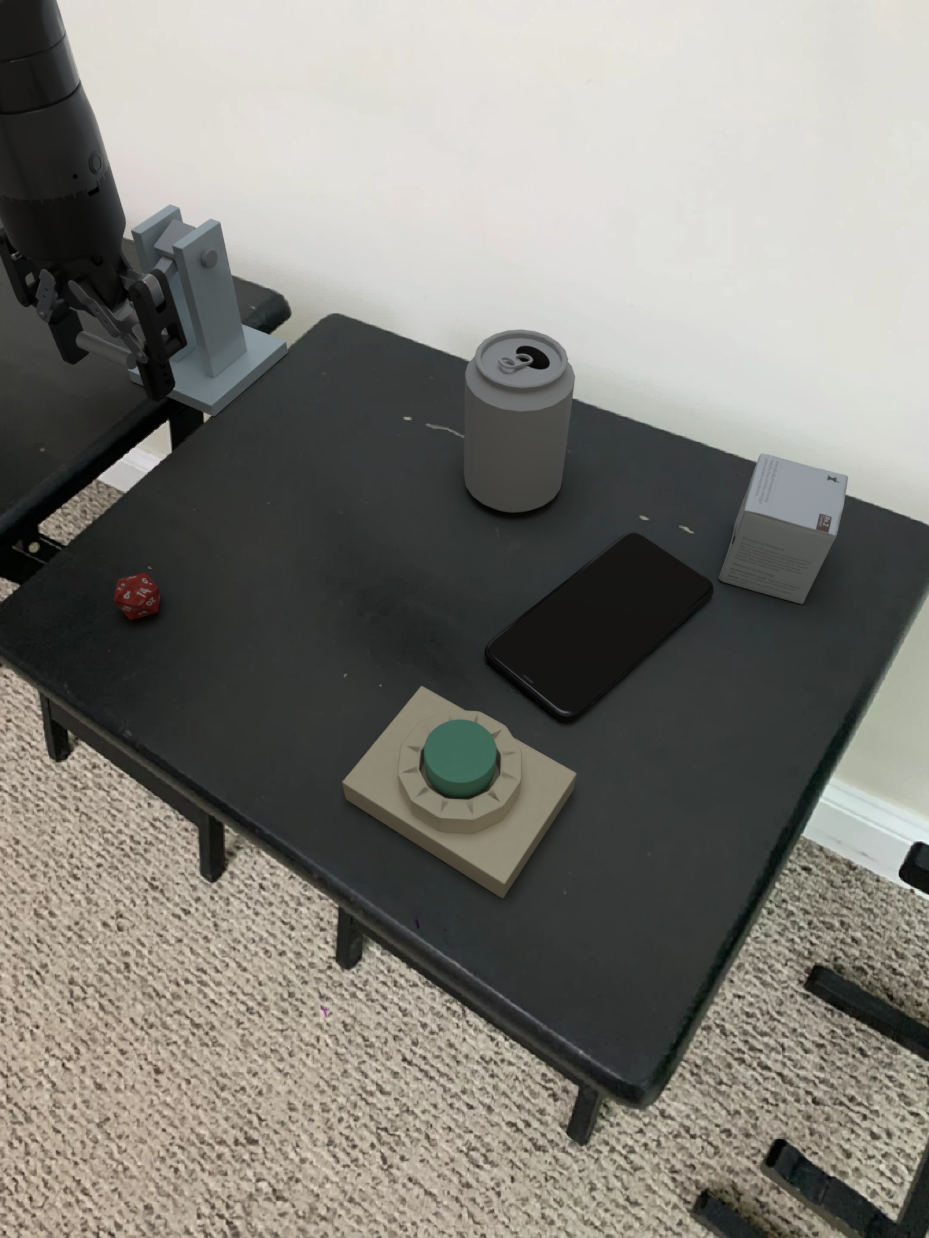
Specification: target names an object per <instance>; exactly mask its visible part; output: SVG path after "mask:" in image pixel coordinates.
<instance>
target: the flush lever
mask: <svg viewBox="0 0 929 1238" xmlns="http://www.w3.org/2000/svg"><path fill="white" fill-rule="evenodd" d="M196 228H197V227H196V226H193V225H191V224H188V223H185V222H184V221H183V222H180V221H177V220H174V219H173V220H172V222H171V223H170V224H169V226H168V227H167V228H166V230H165V231H164V232H163V234H162V235H161V237H160V238H159V239H158V241H157V242H156V243H155V245H154V246H153V247H154V249H155V250H156V252H157V253H158V255H159V256H160V258H161V259H160V260H159V262H158V263H157V265H156V266H155V267H154V269H156V268H157V269H160V270H161V271H162V272H163V273H164V274H165V275H166V277H167V280H168V283H169V282H170V281H171V279H172V278H173V276H174V275H175V274H176V272H179V271H178V267H177V264H176V260H175V256H174V252H173V248H172V245H173V244H174V243H176V242H177V241H179V240H180V239H182V238H183V237H184V236H186V235H187V234H189V233H190V232H192V231H193V230H195V229H196ZM154 269H153V270H154ZM132 312H133V308H132V307H131V306H130V305H129V302H128V303H127V304H126V306H125V307H124V308H123V310H122V311H121V313H120V314H119V315H118V317H116V318H117V319H120V320H123V319H124V318H126V317H127V316H128V315H130V314H131V313H132ZM139 325H140V324H136V325H135V326H134V327H133V331H134V332H135V331H136V329H137V328H138V327H139ZM76 344H77V346H78V347H79V348H81V349H83V350H86V351H88V352H89V354H93V355H95V356H97V357H99V358H102V359H104V360H107V361H109V362H112V363H114V364H115V365H118V366H120V367H123V368H126V369H127V370H128V369H130V370H132V369H135V368H136V367H137V364H136V361H135V360H136V359H137V358H136V357H135V356H134V354H133V353H132V352H131V351H130V349H129V348H128V347H124V346H126V344H125V343H124V342H123V340H122V339H120V338H114V337H112V336H111V335H110V334H109V333H108V331H107V332H106V333H105V335H104V337H100V336H98V335H97V334H96V335H95V334H93V333H91V332H89V331H86V330H84V331H82V332H80V333H79V334H78V335H77V337H76Z"/></svg>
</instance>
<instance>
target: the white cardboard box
mask: <svg viewBox="0 0 929 1238" xmlns="http://www.w3.org/2000/svg"><path fill="white" fill-rule="evenodd" d="M756 461H757V462H756V463H755V466H754V470H753V472H752V475H751V478H750V481H749V483H748V486H747V489H746V492H745V495H744V496H743V500H742V503H741V505H740V508H739V510H738V513H737V516H736V519H735V522H734V526H733V530H732V536H731V541H730V543H729V546H728V549H727V551H726V552H727V553H726V556H725V559H724V562H723V565H722V568H721V571H720V573H719V576H718V580H719V581H720V582H722V583H724V584H728V585H732V586H735V587H739V588H742V589H745V590H750V591H752V592H757V593H760V594H763V595H767V596H771V597H774V598H778V599H781V600H784V601H788V602H792V603H795V604H799V605H803V604H804V603H805V601H806V599H807V596H808V595H809V592H810V590H811V588H812V586H813V584H814V583H815V580H816V578H817V576H818V574H819V572H820V570H821V568H822V566H823V564H824V562H825V559H826V558H827V556H828V554H829V552H830V550H831V548H832V546H833V544H834V541H835V540H836V538H837V535H838V532H839V527H840V522H841V519H842V513H843V510H844V507H845V499H846V494H847V487H848V481H849V477H848V475H847V474H843V473H840V472H839V473H838V472H834V471H831V470H826V469H823V468H820V467H819V468H818V467H815V466H812V465H808V464H803V463H800V462H796V461H793V460H789V459H786V458H782V457H779V456H775V455H772V454H771V455H770V454H767V453H759V456H758V458H757V460H756Z"/></svg>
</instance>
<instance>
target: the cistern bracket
mask: <svg viewBox="0 0 929 1238" xmlns="http://www.w3.org/2000/svg"><path fill="white" fill-rule="evenodd" d="M173 219H174V220H177V221H180V222H183V223H184V220H183V217H182V212H181V208H180V207H179V206H177V205H173V204H171V203H170V204H168V205H166V206H165V207H164V208H162V209H160V210H159V211H158V212H156V213H155V214H152V215H151V216H150V217H148V218H147V219H145V220H144V221H142V222H141V223H139V224H138V225H136V226H135V227H133V228H132V229H130V233H131V236H132V239H133V243H134V246H135V250H136V254H137V257H138V260H139V264H140V267H141V271H142V273H143V274H148V273H150V272H151V271H152V270H153V269H154V267H155V266H156V265H157V263H158V262H159V260H160V259H161V258H160V256H159V255H158V253H157V252H156V250H155V249H154V247H153V246H154V245H155V243H156V242H157V241H158V239H159V238H160V237H161V235H162V234H163V232H164V231H165V230H166V228H167V227H168V226H169V224H170V223H171V222H172V220H173ZM225 242H226V241H225V238H224V233H223V229H222V222H221V221H219V220H216V219H214V218H209V219H208V220H206V221H205V222H203V223H202V224H200V225H199V226H197V227H196V229H195V230H193V231H192V232H190V233H189V234H187V235H186V236H184V237H183V238H182V239H180V240H179V241H177V242H176V243H174V244H173V245H172V248H173V252H174V256H175V260H176V264H177V267H178V271H179V272H176V274H175V275H174V276H173V278H172V279H171V281H170V282H169V286H170V289H171V292H172V296H173V299H174V302H175V305H176V308H177V311H178V314H179V318H180V321H181V324H182V327H183V330H184V333H185V337H186V340H187V346H186V347H184V348H183V349H182V350H180V351H179V352H177V353H176V354H175V355H173V356H172V357H171V358H170V359H169V362H170V365H171V369H172V372H173V376H174V379H175V382H176V383H175V388H173V390H172V392H170V393H169V394H168V395H167V396H166V397H167V398H170V399H172V400H174V401H177V402H179V403H181V404H182V405H183V404H184V405H186V406H188V407H190V408H193V409H195V410H197V411H199V412H201V413H204V414H207V415H209V416H211V417H216V416H217V415H218V414H219V413H220V412H221V411H223V410H224V409H226V407H227V406H228V405H230V404H231V403H232V402H234V401H235V399H236V398H238V397H239V396H240V395H241V394H242V393H243V392H245V391H246V390H247V389H248V388H249V387H250V386H251V385H253V384H254V383H255V382H257V380H258V379H260V378H261V377H262V376H263V375H264V374H265V373H267V372H268V371H269V370H270V369H271V368H272V367H274V365H276V364H277V363H278V362H279V361H280V360H281V359H283V358H284V357H285V356H286V355H287V354H288V353H289V349H288V345H287V341H286V340H285V339H281V338H279V337H276V336H273V335H271V334H269V333H266V332H263V331H261V330H258V329H256V328H253V327H251V326H248V325H246V324H243V322H242V318H241V312H240V310H239V304H238V299H237V296H236V290H235V285H234V280H233V275H232V272H231V266H230V262H229V257H228V251H227V247H226V243H225ZM163 331H164V333H165V334H166V335H168V333H167V330H166V328H164V329H163ZM127 372H128V375H129V379H130V382H132V383H135V384H137V385H139V386H142V387H144V386H143V383H142V380H141V377H140V374H139V370H138V367H136V368H135V369H132V370H130V369H128V368H127Z"/></svg>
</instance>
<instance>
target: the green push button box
mask: <svg viewBox="0 0 929 1238" xmlns="http://www.w3.org/2000/svg"><path fill="white" fill-rule="evenodd" d="M457 719H463V720H469V721H473V722H476V723H478V724H480V725H481V726H483V727H484V728H485V729H487V730H488V731H489V733H490V734H491V735H492V737H493V739H494V741H495V744H496V748H497V756H496V768H495V774H494V776H493V779H492V780H491V782H490V783H489V785H488V786H487V787H486V788H485V789H483V790H482V791H481V792H479V793H477V794H475V795H472V796H468V797H453V796H449V795H446V794H444V793H442V792H440V791H438V790H437V789H436V788H435V787H434V786H433V785H432V784H431V783H430V781H429V780H428V778H427V776H426V772H425V764H424V746H425V742H426V740H427V738H428V736H429V735H430V733H431V732H432V731H433V730H434V729H435V728H436V727H438V726H439V725H441V724H443V723H445V722H447V721H451V720H457ZM576 779H577V772H575V771H574V770H572V769H571V768H568V767H567V766H565V765H563V764H561V763H559V762H558V761H556V760H554V759H552V758H550V757H549V756H547V755H545V754H544V753H541V752H540V751H538V750H536V749H534V748H533V747H531V746H529V745H528V744H526V743H524V742H522V741H520V740H519V739H517V738H515V737H513V735H512V733H511V731H510V729H508V727H507V726H506V725H505V724H503V723H502V722H500V721H498V720H496V719H494V718H492V717H490V716H489V715H487V714H485V713H483V711H478V710H466V709H464V708H462V707H460V706H458V705H457V704H454V703H453V702H451V701H449V700H447V698H445V697H442V696H441V695H439V694H437V693H435V692H434V691H432V690H431V689H428V688H427V687H424V686H423V685H421V686H420V687H419V688H418V689H417V690H416V691H415V693H414V694H413V695H412V696H411V697H410V699H409V700H408V701H407V702H406V704H405V705H404V706H403V707H402V709H401V710H400V711H399V712H398V714H396V716H395V717H394V718H393V720H392V721H391V722H390V723H389V725H387V727H385V729H384V731H382V733H381V734H380V735H379V737H377V739H376V740H375V741H374V743H373V744H372V745H371V746H370V747H369V749H368V750H367V751H366V752H365V754H364V755H363V756H362V757H361V759H359V761H358V762H357V763H356V764H355V766H354V767H353V768H352V769H351V770H350V772H349V773H348V775H346V777H345V778H344V779H343V780H342V789H343V792H344V798H345V800H346V801H347V802H349V803H350V804H352V805H354V806H356V808H359V809H361V811H363V812H365V813H366V814H368V815H370V816H371V817H373V818H374V819H376V820H378V821H379V822H381V823H382V824H383V825H385V826H387V827H388V828H390V829H392V830H393V831H395V832H396V833H398V834H400V835H401V836H403V837H404V838H405V839H408V840H409V841H410V842H412V843H414V844H415V845H416V846H419V847H420V848H421V849H423V850H425V851H426V852H428V853H430V854H431V855H432V856H434V857H436V858H437V859H439V860H440V861H442V862H444V863H445V864H447V865H448V866H450V867H452V868H453V869H455V870H456V871H458V872H459V873H461V874H462V875H464V876H466V877H467V878H469V879H471V880H472V881H473V882H475V883H477V884H478V885H480V886H481V887H483V888H485V889H487V890H488V892H489V891H490V892H491V893H492V894H494V895H496V896H497V897H499V898H500V899H504V898H505V897H506V895H507V893H508V892H509V891H510V889H511V887H512V886H513V884H514V883H515V881H516V880H517V879H518V877H519V875H520V874H521V872H522V870H523V869H524V868H525V866H526V864H527V863H528V861H529V860H530V859H531V857H532V855H533V853H534V852H535V851H536V849H537V848H538V846H539V844H540V843H541V842H542V840H543V838H544V836H545V835H546V833H547V832H548V830H549V829H550V827H551V826H552V824H553V823H554V821H555V819H556V818H557V816H558V815H559V813H560V812H561V810H562V808H563V807H564V806H565V804H566V803H567V802H568V800H569V798H570V797H571V795H572V794H573V792H574V788H575V784H576Z"/></svg>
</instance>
